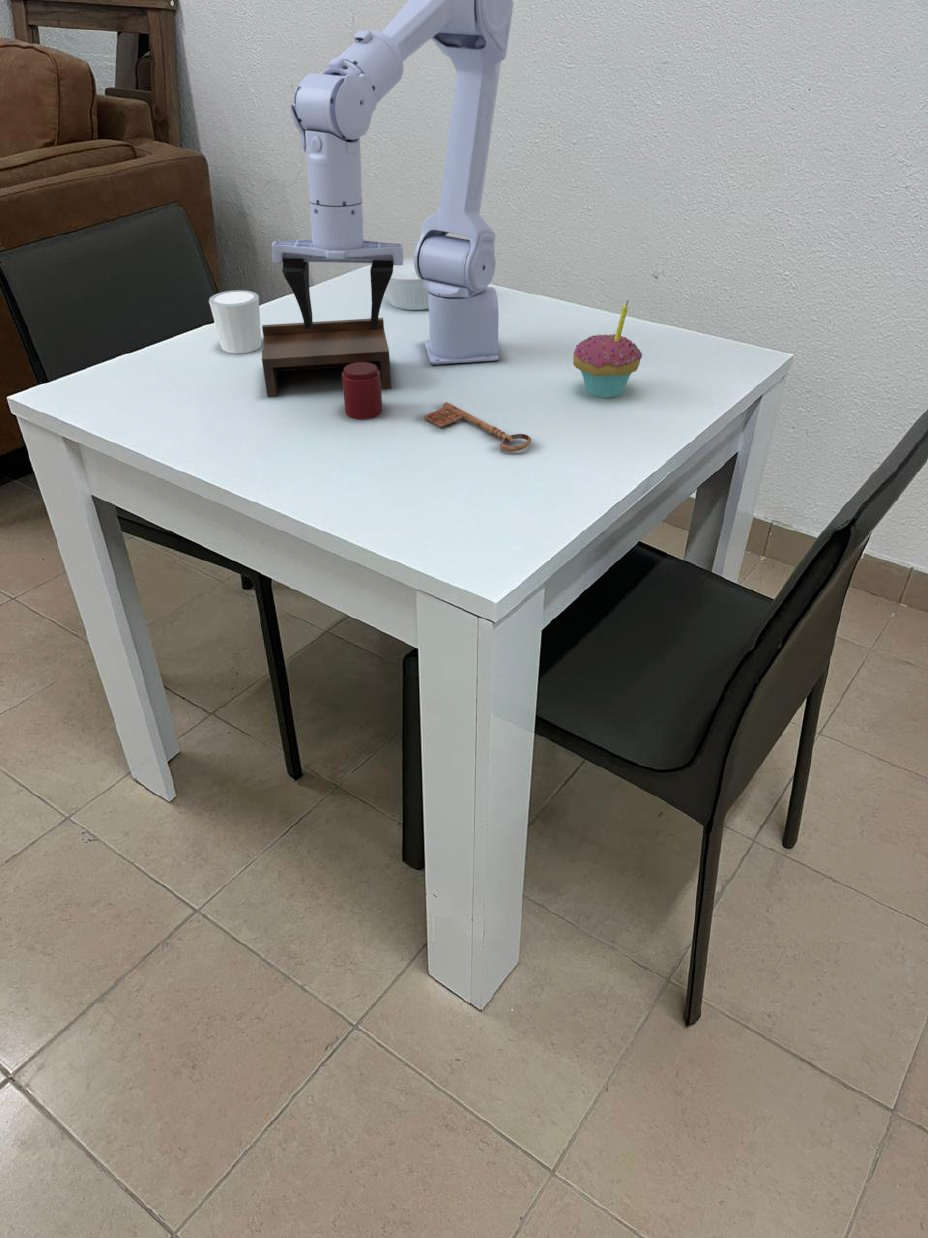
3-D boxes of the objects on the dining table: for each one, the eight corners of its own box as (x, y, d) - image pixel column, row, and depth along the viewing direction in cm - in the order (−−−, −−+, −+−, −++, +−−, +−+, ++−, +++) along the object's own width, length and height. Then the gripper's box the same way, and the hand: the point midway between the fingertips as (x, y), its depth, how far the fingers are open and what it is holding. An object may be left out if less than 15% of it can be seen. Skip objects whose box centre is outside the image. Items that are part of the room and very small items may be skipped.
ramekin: (374, 311, 144) (372, 276, 141) (390, 288, 152) (388, 255, 149) (444, 314, 142) (444, 279, 139) (457, 291, 151) (456, 258, 148)
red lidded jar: (380, 402, 117) (377, 359, 113) (383, 417, 113) (380, 374, 110) (344, 404, 116) (340, 362, 113) (346, 420, 113) (342, 376, 109)
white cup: (271, 338, 135) (264, 289, 131) (258, 355, 130) (250, 305, 125) (225, 336, 136) (217, 288, 131) (210, 354, 130) (201, 304, 126)
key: (421, 419, 113) (498, 462, 104) (420, 412, 113) (498, 455, 103) (458, 402, 116) (537, 444, 106) (457, 396, 115) (537, 437, 106)
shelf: (385, 362, 127) (383, 317, 124) (391, 388, 120) (388, 341, 116) (268, 369, 125) (262, 324, 122) (267, 396, 118) (260, 349, 115)
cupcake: (645, 384, 121) (655, 291, 113) (626, 409, 114) (636, 313, 107) (582, 373, 123) (589, 282, 116) (560, 397, 117) (566, 303, 110)
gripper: (263, 207, 97) (274, 336, 105) (401, 210, 98) (402, 338, 105) (272, 194, 103) (282, 317, 110) (402, 197, 103) (404, 319, 111)
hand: (341, 326), depth 108 cm, fingers open, 7 cm apart
